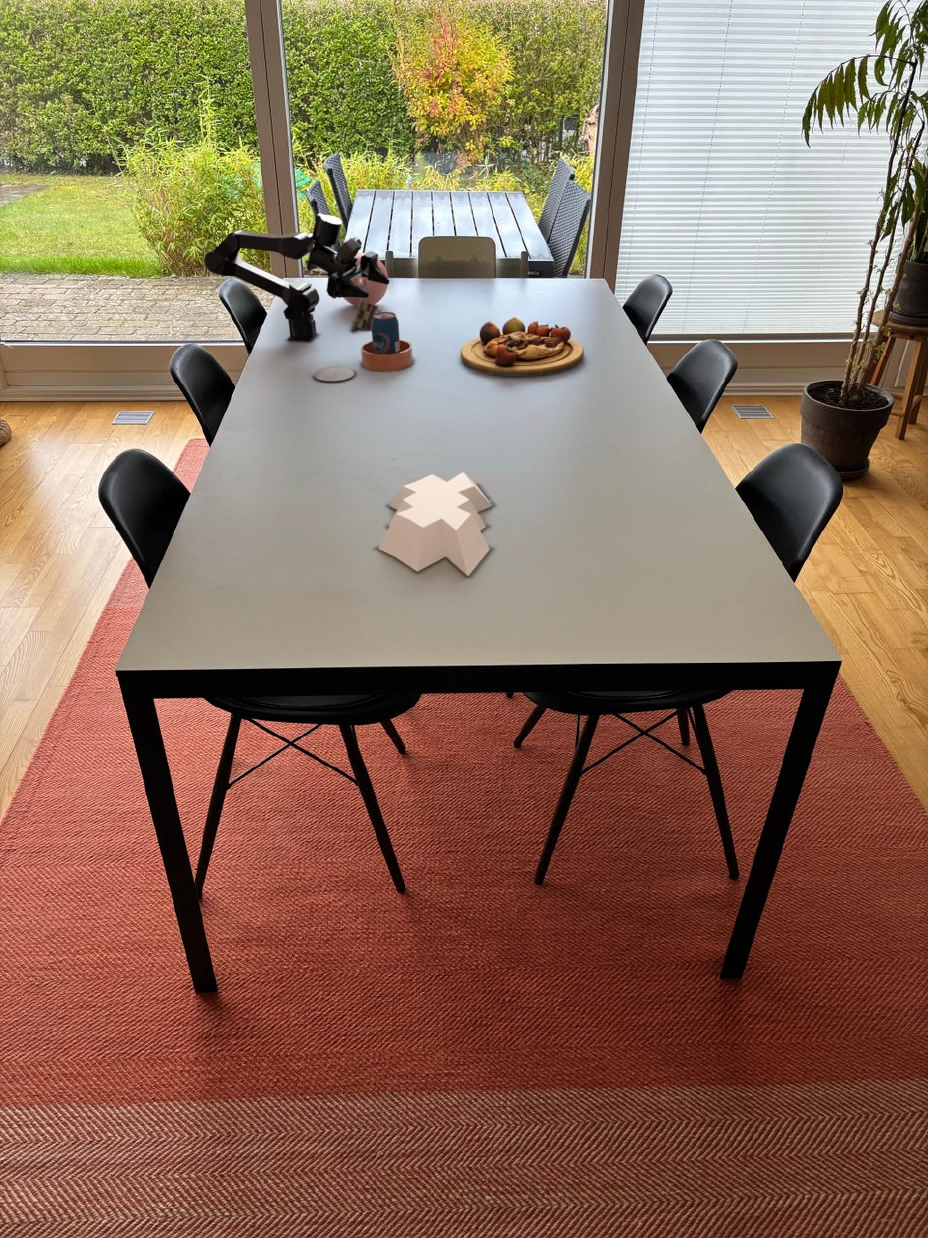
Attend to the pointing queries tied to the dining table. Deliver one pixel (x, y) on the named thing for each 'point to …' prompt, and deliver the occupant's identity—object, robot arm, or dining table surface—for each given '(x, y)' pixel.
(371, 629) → the dining table surface
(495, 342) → the wooden plate
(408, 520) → the tapered cross block
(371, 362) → the orange bowl
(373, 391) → the dining table surface
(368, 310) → the chocolate cake
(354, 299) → the balloon
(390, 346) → the soda can
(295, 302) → the robot arm
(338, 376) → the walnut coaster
